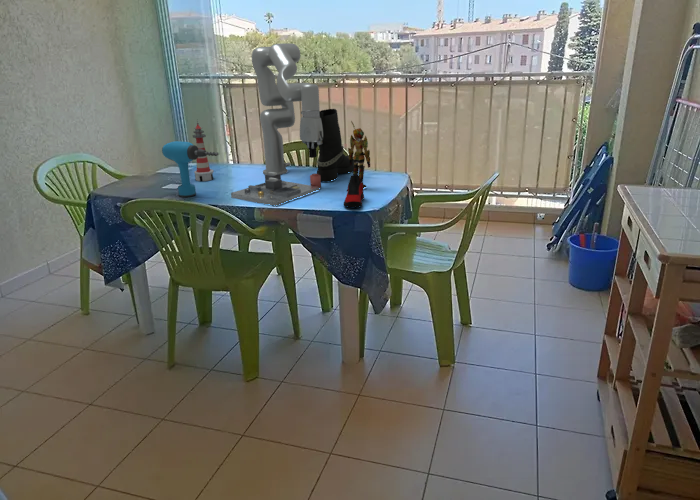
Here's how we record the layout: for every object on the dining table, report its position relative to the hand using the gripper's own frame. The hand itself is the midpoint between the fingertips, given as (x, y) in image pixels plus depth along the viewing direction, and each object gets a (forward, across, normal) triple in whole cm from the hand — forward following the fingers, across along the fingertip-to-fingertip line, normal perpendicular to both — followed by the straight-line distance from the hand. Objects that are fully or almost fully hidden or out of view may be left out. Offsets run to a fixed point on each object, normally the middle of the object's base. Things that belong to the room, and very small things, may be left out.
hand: (312, 157), depth 225 cm
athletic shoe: (+15, +29, -9) cm, 34 cm away
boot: (+14, -9, +26) cm, 31 cm away
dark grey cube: (+12, -16, -10) cm, 22 cm away
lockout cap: (+14, 0, +1) cm, 14 cm away
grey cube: (+12, -8, -18) cm, 23 cm away
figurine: (+15, +17, +11) cm, 25 cm away
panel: (+14, -8, -16) cm, 23 cm away
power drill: (+14, -35, -38) cm, 54 cm away
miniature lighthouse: (+14, -57, -16) cm, 61 cm away
